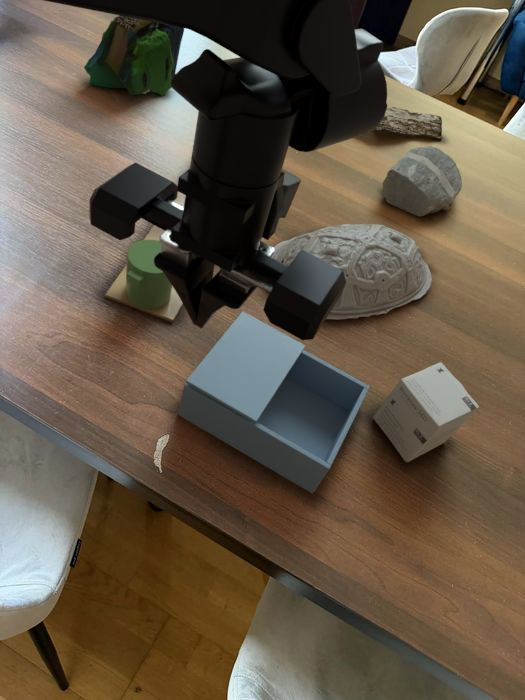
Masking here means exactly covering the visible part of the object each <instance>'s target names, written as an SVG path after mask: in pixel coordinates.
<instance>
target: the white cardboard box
mask: <svg viewBox="0 0 525 700" xmlns="http://www.w3.org/2000/svg"><path fill="white" fill-rule="evenodd" d="M479 409H480V406H479V404H478V403H477V402H476V401H475V400H474V399H473V397H472V396H471V395H470V394H469V392H467V390H466V388H465V387H464V385H463V384H462V383H461V382H460V381H459V380H458V379H457V378H456V377H455V376H454V375H453V374H452V373H451V371H449V369H448V368H447V366H445V364H444V363H443V362H441V361H440V362H438V363H434V364H432V365H430V366H428V367H426V368H423V369H422V370H419V371H417V372H415V373H413V374H410V375H407V376H405V377H403V378H401V379H400V380H398V382H397V384H396V385H395V387H394V388H393V389H392V391H391V392H390V393H389V394H388V396H387V397H386V399H385V400H384V401H383V403H382V404H381V405H380V406H379V408H378V409H377V410H376V412H375V413H374V415H373V416H372V418H373V420H374V421H375V423H376V424H377V425H378V426H379V428H380V429H381V430H382V432H383V433H384V434H385V436H386V437H387V439H388V440H389V441H390V443H391V444H392V445H393V447H394V448H395V449H396V451H397V452H398V454H399V455H400V457H401V458H402V460H403V461H404V462H405V463H409V462H411V461H413V460H416V458H418V457H420V456H422V455H424V454H427V453H428V452H430V451H432V450H433V449H435V448H437V447H439V446H441V445H443V444H445V443H446V442H447V441H448V440H449V439H450V438H451V437H452V436H453V435H455V433H456V432H457V431H458V430H459V429H460V428H461V427H462V426H463V425H464V424H465V423H466V421H468V420H469V419H470V418H471V417H472V416H473V415H474V414H475V413H476V412H477V411H478V410H479Z"/></svg>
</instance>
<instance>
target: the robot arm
mask: <svg viewBox="0 0 525 700" xmlns="http://www.w3.org/2000/svg"><path fill="white" fill-rule="evenodd" d="M43 1H45V2H50V3H55V4H59V5H64V6H69V7H75V8H79V9H80V8H81V9H85V10H90V11H94V12H100V13H106V14H111V15H116V16H119V15H120V16H125V17H130V18H135V19H140V20H145V21H150V22H156V23H161V24H166V25H171V26H176V27H181V28H184V29H186V30H189V31H192V32H194V33H196V34H198V35H199V36H203V37H205V38H207V39H208V40H210V41H211V42H213V43H215V44H217V45H219V46H220V47H222V48H223V49H226V50H227V51H229V52H231V53H232V54H234V55H236V56H238V57H233V58H227V59H222V58H221V57H220V56H219V55H218V54H216V53H215V52H214V51H212V50H211V49H209V48H206V49H204V50H203V51H202V52H201V53H200V55H199V57H197V58H196V59H195V60H194V61H193V62H190V63H189V64H187V65H185V66H183V67H181V68H180V69H179V70H178V71H177V72H175V75H174V76H173V77H172V79H171V82H170V84H171V87H172V88H171V89H172V90H173V91H175V92H176V93H177V94H178V95H179V96H180V97H182V98H183V99H184V100H185V101H186V102H187V103H189V104H190V106H192V107H193V108H194V109H196V110H197V112H198V113H197V120H196V125H195V132H194V139H193V145H192V151H191V158H190V163H189V169H187V170H186V171H185V172H184V173H182V174H181V175H180V176H178V180H177V184H176V183H175V182H174V181H172V180H170V179H168V178H167V177H165V176H162V175H161V174H159V173H156V172H155V171H153V170H151V169H149V168H147V167H145V166H143V165H142V164H140V163H139V162H134V163H132V164H129V165H128V166H126V167H125V168H124V169H122V170H120V171H119V172H118V173H116V174H114V175H113V176H112V177H111V178H109V179H108V180H106V181H105V182H103V183H102V184H100V185H99V186H97V187H96V188H95V189H94V190H93V192H92V193H91V196H90V198H89V199H88V200H89V201H88V202H89V209H88V211H89V214H88V215H89V223H90V225H91V226H93V227H94V228H96V229H98V230H100V231H102V232H103V233H105V234H107V235H109V236H111V237H113V238H114V239H116V240H119V241H123V240H125V239H126V240H127V239H128V238H131V237H132V236H133V235H134V234H135V233H136V232H135V231H136V223H138V222H139V221H140V220H141V219H142V220H144V221H146V222H148V223H149V224H151V225H152V226H154V225H155V226H157V227H159V228H161V229H163V230H164V231H165V232H164V233H162V234H161V235H160V237H159V241H160V242H161V243H162V244H161V252H160V253H158V254H157V255H156V256H155V258H154V265H155V266H156V267H157V268H158V269H160V270H161V271H163V272H164V274H165V275H166V277H167V279H168V280H169V282H170V283H171V285H172V286H173V288H174V289H175V291H176V292H177V294H178V296H179V297H180V299H181V301H182V303H183V305H182V306H183V307H184V308H185V311H186V313H187V314H188V316H189V318H190V321H191V322H192V324H193V325H194V326H196V327H198V328H199V329H203V328H204V327H205V326H206V325H207V324H208V322H209V321H210V320H211V319H212V317H213V316H214V315H215V314H216V312H218V311H219V310H221V309H222V308H224V307H228V308H229V309H231V310H238V309H240V308H241V307H242V306H243V305H244V304H245V303H246V301H247V300H248V299H249V298H250V296H251V295H252V294H253V293H254V292H255V291H256V289H257V288H259V289H261V290H263V291H264V292H267V293H268V296H267V298H266V300H265V303H264V306H263V309H262V310H263V312H264V314H265V316H266V318H267V319H268V321H269V323H270V324H271V325H274V326H275V327H277V328H279V329H281V330H283V331H285V332H286V333H288V334H290V335H292V336H294V337H296V338H297V339H299V340H301V341H310V340H314V338H315V337H316V335H317V334H318V333H319V330H320V329H321V328H322V326H323V325H324V323H325V321H326V320H327V319H326V318H327V316H328V315H329V313H330V312H331V310H332V309H333V307H334V305H335V304H336V302H337V301H338V299H339V297H340V295H341V293H342V291H343V289H344V287H345V285H346V279H345V276H344V272H343V270H341V269H339V268H337V267H335V266H333V265H331V264H329V263H327V262H325V261H323V260H322V259H320V258H318V257H316V256H314V255H312V254H310V253H308V252H306V251H304V250H301V251H300V252H299V254H298V255H297V256H296V257H295V258H294V260H293V259H292V260H293V261H292V262H291V264H290V265H289V266H286V265H285V264H286V263H285V264H283V262H282V261H281V262H279V261H277V260H275V259H273V258H271V257H272V255H273V254H274V252H275V248H273V247H274V246H272V245H270V244H268V243H266V242H264V241H263V240H262V239H264V240H266V241H269V240H270V239H271V238H272V236H273V235H274V234H275V233H276V230H277V227H278V224H279V221H280V219H285V218H286V217H287V215H288V213H289V210H290V208H291V205H292V204H293V201H294V199H295V196H296V195H297V191H298V189H299V187H300V185H301V182H302V179H301V178H300V177H299V176H297V175H296V174H294V173H292V172H290V171H288V170H286V169H284V168H283V167H284V163H285V159H286V157H287V153H288V149H289V147H290V148H291V149H294V150H296V151H298V152H302V153H309V152H314V151H317V150H321V149H323V148H326V147H331V146H333V145H336V144H340V143H342V142H346V141H348V140H351V139H355V138H359V137H361V136H364V135H368V134H369V133H371V132H372V131H374V129H375V128H376V127H377V126H378V125H379V124H380V122H381V120H382V119H383V117H384V115H385V112H386V110H387V109H388V103H387V101H388V83H387V80H386V79H387V78H386V75H385V72H384V70H383V68H382V66H381V63H380V62H379V58H380V55H381V52H382V50H383V48H384V42H383V41H382V40H380V39H379V38H377V37H375V36H374V35H373V34H371V33H370V32H368V31H367V30H365V29H364V28H357V29H356V27H355V21H354V12H353V5H352V2H351V0H43ZM178 192H180V193H182V194H184V195H186V196H185V202H184V207H183V206H181V205H179V204H177V203H175V202H174V200H175V199H176V198H177V193H178ZM215 266H216V267H219V271H218V272H217V273H216V274H215V275H214V270H215Z"/></svg>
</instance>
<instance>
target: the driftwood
mask: <svg viewBox="0 0 525 700" xmlns="http://www.w3.org/2000/svg"><path fill="white" fill-rule="evenodd" d="M442 125H443V119H442V116H440V115H435V114H431V113H430V114H429V113H424V112H421V113H419V112H417V111H416V112H412V111H410V110H408V109H402V108H398V107H394V106H393V107H387V110H386V112H385V115H384V117H383V119H382V120H381V122H380V124H379V125H378V126H377V127H376V128H375V129H374V130H375V131H385V132H392V133H394V134H402V135H404V136H426V137H432V138H435V139H438V140H443V135H442V133H443V127H442ZM374 130H373V131H374Z"/></svg>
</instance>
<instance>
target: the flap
mask: <svg viewBox="0 0 525 700" xmlns="http://www.w3.org/2000/svg"><path fill="white" fill-rule="evenodd" d="M305 348H306V344H303V343H302V342H300V341H298V340H296V339H294V338H292V337H291V336H289V335H287V334H285V333H284V332H282V331H280V330H278V329H276V328H275V327H273V326H271V325H269V324H267V323H265V322H263V321H261V320H260V319H258V318H256V317H254V316H252V315H251V314H249V313H247V312H246V311H241V313H240V314H239V315H238V316H237V317H236V319H235V320H234V321H233V322H232V324H231V325H230V326H229V327H228V328H227V330H226V331H225V332H224V333H223V335H222V336H221V337H220V338H219V340H218V341H217V342H216V343H215V344H214V346H213V347H212V348H211V349H210V350H209V352H208V353H207V354H206V356H205V357H204V358H202V360H201V362H200V363H199V364H198V365H197V366H196V368H195V369H194V370H193V371H192V373H191V374H190V375H189V376H188V378H187V379H186V380H185V384H186V383H187V384H189V385H191V386H193V387H194V388H196V389H198V390H199V391H201V392H203V393H205V394H206V395H208V396H210V397H212V398H213V399H215V400H217V401H218V402H220V403H222V404H224V405H225V406H227V407H229V408H230V409H232V410H234V411H236V412H237V413H239V414H241V415H243V416H244V417H246V418H248V419H249V420H251V421H253V422H255V423H256V422H257V421H258V419H259V417H260V416H261V414H262V413H263V411H264V410H265V408H266V407H267V405H268V404H269V402H270V400H271V399H272V397H273V396H274V394H275V393H276V391H277V390H278V388H279V387H280V385H281V383H282V382H283V380H284V379H285V377H286V376H287V374H288V373H289V371H290V370H291V368H292V366H293V365H294V363H295V362H296V360H297V359H298V357H299V356H300V354H301V352H302V351H303V350H305Z"/></svg>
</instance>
